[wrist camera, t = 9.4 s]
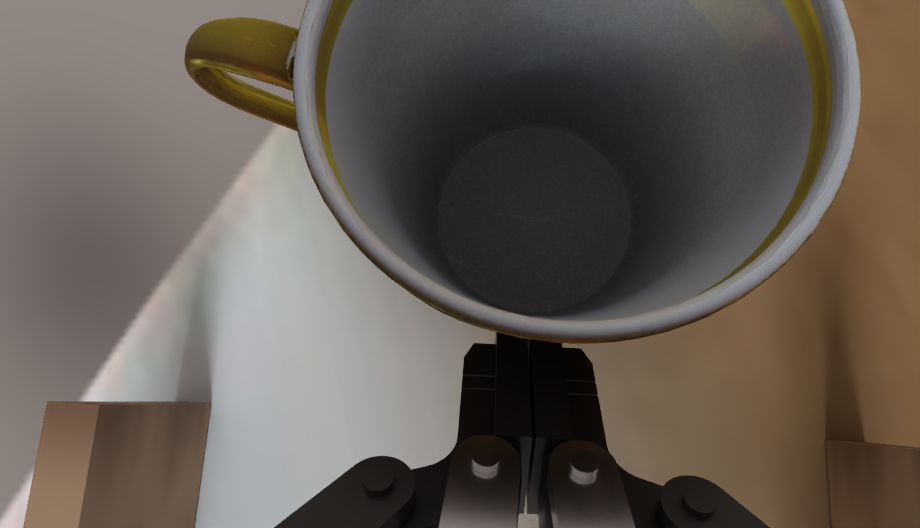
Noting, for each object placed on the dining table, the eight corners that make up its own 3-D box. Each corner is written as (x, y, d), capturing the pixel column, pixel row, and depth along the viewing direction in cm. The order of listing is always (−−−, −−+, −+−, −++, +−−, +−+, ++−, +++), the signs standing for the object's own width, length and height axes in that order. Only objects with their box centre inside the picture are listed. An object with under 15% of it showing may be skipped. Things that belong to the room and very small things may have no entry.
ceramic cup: (696, 104, 22) (868, -149, 12) (672, 400, 19) (861, 388, 10) (327, 60, 23) (206, -208, 13) (264, 336, 20) (61, 266, 11)
